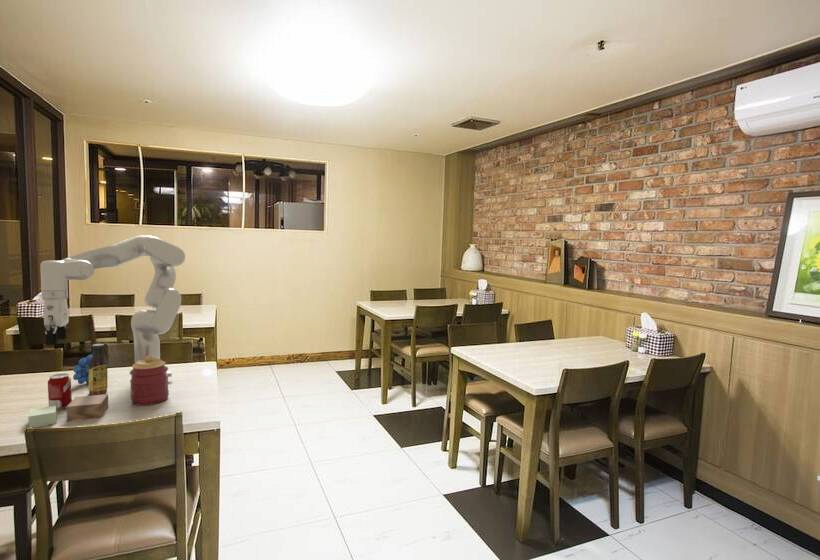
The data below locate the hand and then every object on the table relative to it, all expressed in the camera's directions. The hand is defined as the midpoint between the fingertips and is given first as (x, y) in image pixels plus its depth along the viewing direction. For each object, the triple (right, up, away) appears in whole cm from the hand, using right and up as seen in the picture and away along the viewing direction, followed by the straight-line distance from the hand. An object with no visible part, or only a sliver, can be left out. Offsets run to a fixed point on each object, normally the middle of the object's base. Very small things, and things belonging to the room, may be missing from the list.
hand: (56, 341), depth 165 cm
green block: (+4, -26, -11) cm, 28 cm away
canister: (+27, -25, +12) cm, 38 cm away
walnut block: (+13, -25, -3) cm, 29 cm away
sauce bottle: (+3, -23, +18) cm, 30 cm away
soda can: (0, -25, +3) cm, 25 cm away
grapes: (-11, -22, +31) cm, 39 cm away
